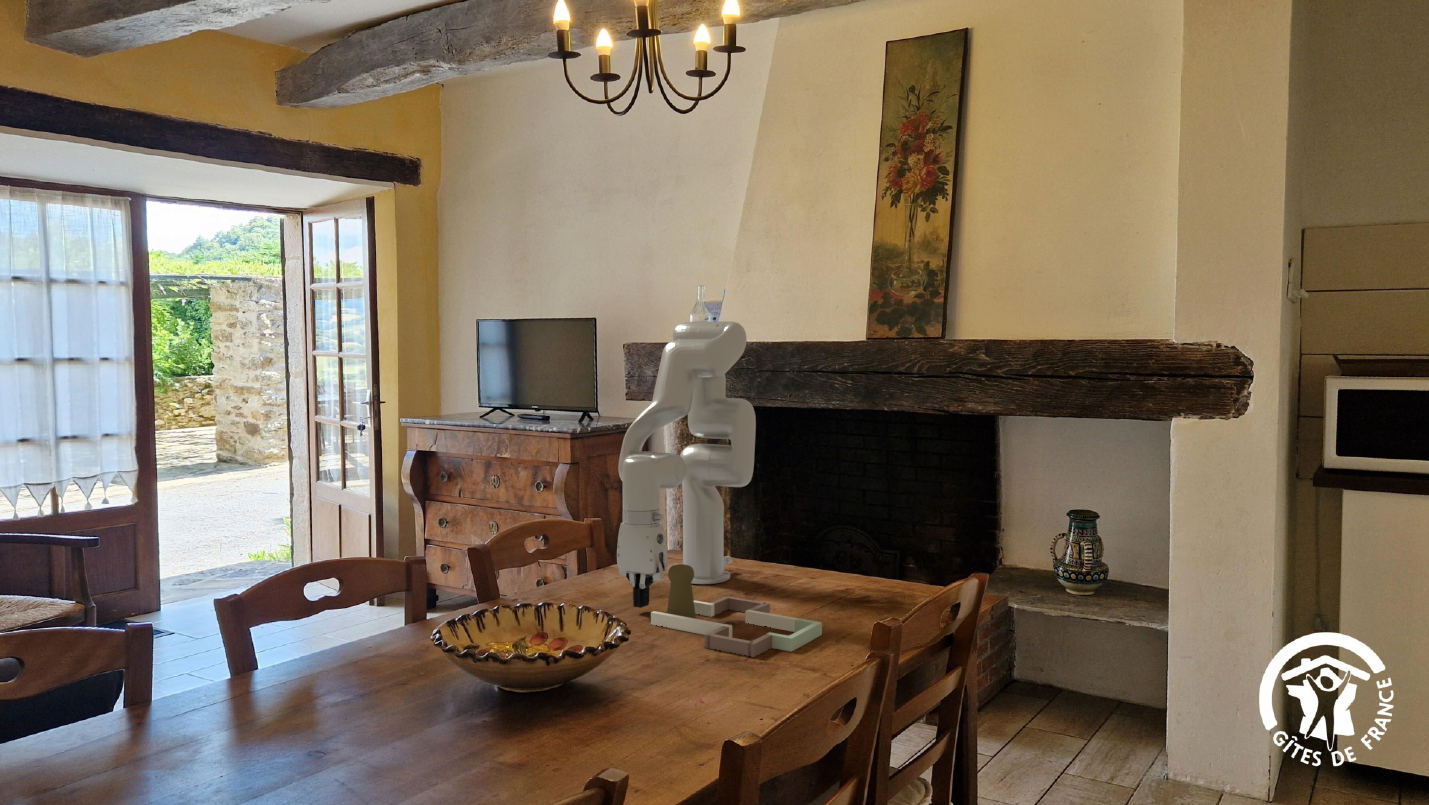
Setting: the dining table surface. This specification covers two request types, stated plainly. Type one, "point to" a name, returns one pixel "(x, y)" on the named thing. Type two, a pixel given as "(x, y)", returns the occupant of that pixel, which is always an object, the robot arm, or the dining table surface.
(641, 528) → the robot arm
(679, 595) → the olive pawn
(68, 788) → the dining table surface
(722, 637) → the trap lane
